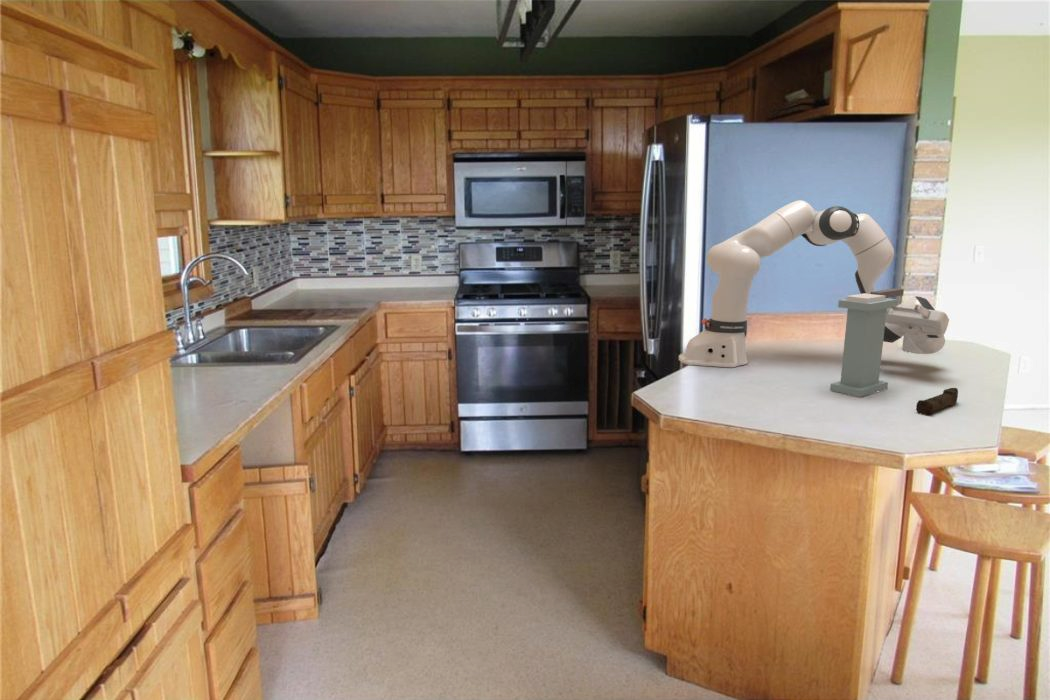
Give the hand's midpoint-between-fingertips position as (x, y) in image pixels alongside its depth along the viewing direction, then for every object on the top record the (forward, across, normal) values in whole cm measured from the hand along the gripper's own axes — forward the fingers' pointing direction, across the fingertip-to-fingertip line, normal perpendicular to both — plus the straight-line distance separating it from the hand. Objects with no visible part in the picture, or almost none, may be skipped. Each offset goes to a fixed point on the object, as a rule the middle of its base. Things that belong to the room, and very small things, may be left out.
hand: (901, 305), depth 216 cm
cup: (-54, -15, -5) cm, 56 cm away
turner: (+14, 0, +5) cm, 15 cm away
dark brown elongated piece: (+6, +22, +30) cm, 38 cm away
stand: (+6, 0, +30) cm, 30 cm away
